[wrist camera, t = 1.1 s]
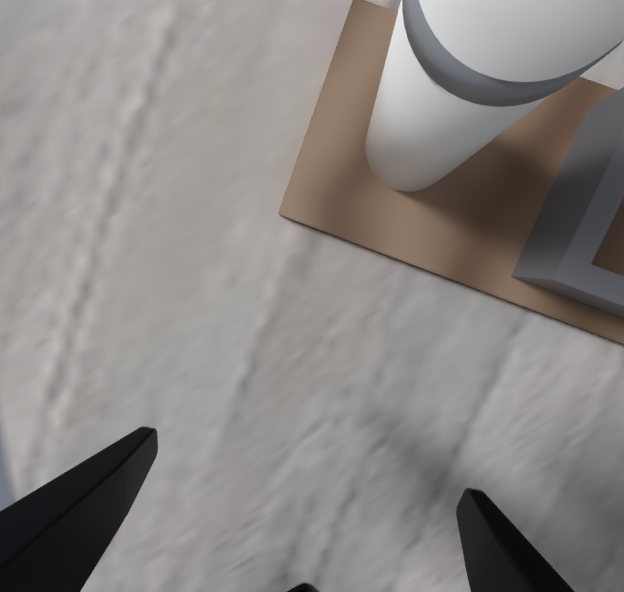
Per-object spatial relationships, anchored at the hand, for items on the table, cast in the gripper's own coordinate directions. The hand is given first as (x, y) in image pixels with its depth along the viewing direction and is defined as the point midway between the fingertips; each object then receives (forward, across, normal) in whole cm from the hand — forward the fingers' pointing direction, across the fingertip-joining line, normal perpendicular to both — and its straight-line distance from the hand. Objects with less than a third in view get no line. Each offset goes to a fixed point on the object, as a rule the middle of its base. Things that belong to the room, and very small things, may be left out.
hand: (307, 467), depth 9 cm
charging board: (+13, -9, -9) cm, 18 cm away
